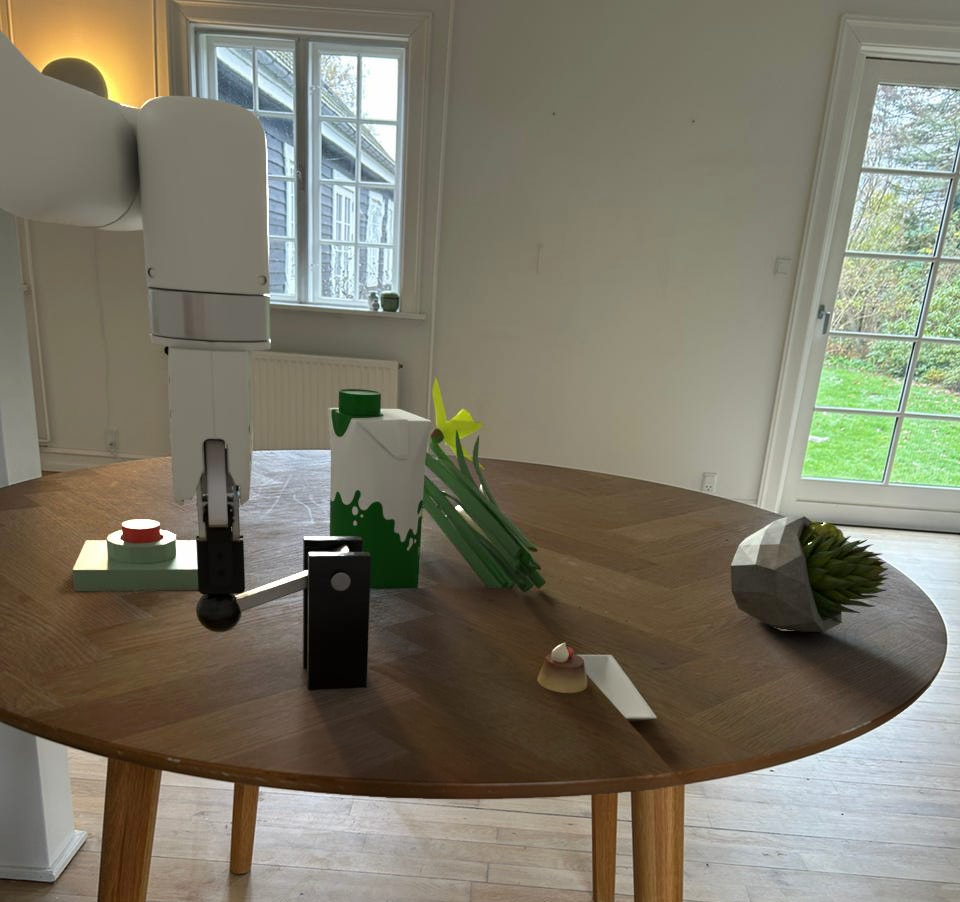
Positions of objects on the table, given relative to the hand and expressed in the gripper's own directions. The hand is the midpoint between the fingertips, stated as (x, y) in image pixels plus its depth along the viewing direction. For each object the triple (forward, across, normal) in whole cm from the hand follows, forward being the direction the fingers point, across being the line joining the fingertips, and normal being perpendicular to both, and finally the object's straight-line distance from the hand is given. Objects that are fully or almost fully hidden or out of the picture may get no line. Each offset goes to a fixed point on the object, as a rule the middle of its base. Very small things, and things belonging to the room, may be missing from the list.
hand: (222, 589), depth 64 cm
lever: (+2, 0, +4) cm, 5 cm away
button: (+5, -29, -8) cm, 30 cm away
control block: (+8, -29, -8) cm, 31 cm away
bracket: (+9, 0, +8) cm, 12 cm away
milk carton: (+9, -24, +15) cm, 30 cm away
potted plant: (+9, -10, +57) cm, 59 cm away
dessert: (+9, +3, +26) cm, 28 cm away
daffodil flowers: (+9, -36, +28) cm, 47 cm away
